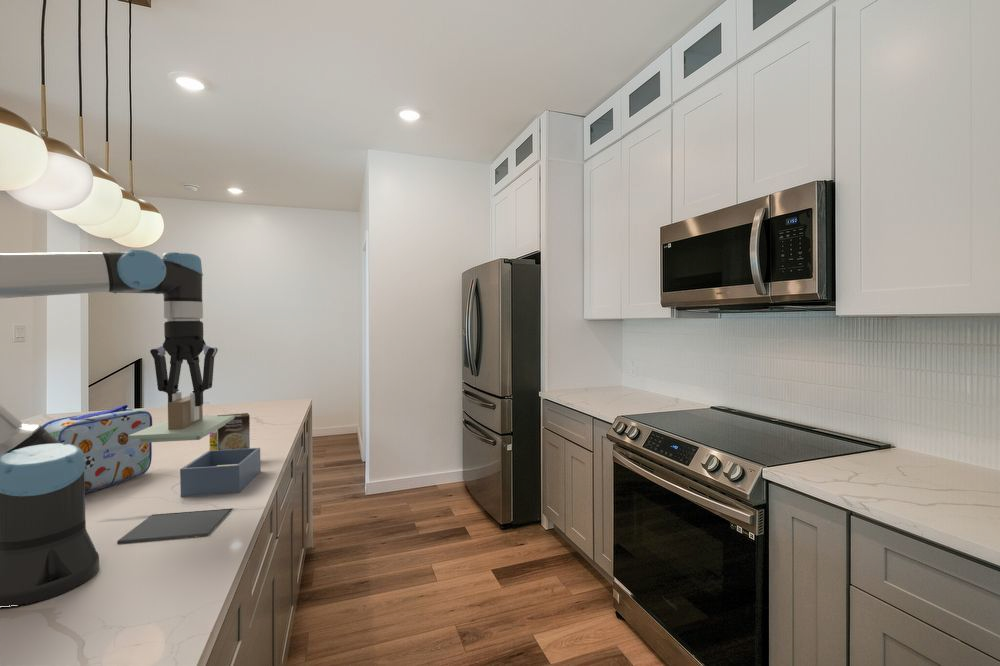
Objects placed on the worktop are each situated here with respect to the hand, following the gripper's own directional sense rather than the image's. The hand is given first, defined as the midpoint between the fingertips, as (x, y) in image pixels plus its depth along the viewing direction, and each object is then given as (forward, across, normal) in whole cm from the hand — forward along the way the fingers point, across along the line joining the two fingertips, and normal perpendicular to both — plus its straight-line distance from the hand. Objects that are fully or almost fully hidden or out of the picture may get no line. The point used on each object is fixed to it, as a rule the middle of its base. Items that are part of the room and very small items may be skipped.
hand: (186, 420), depth 108 cm
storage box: (+23, 0, -22) cm, 32 cm away
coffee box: (+23, +5, -43) cm, 49 cm away
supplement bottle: (+23, +13, -55) cm, 61 cm away
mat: (+23, 0, 0) cm, 23 cm away
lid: (+3, 0, 0) cm, 3 cm away
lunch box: (+23, +35, -30) cm, 51 cm away
